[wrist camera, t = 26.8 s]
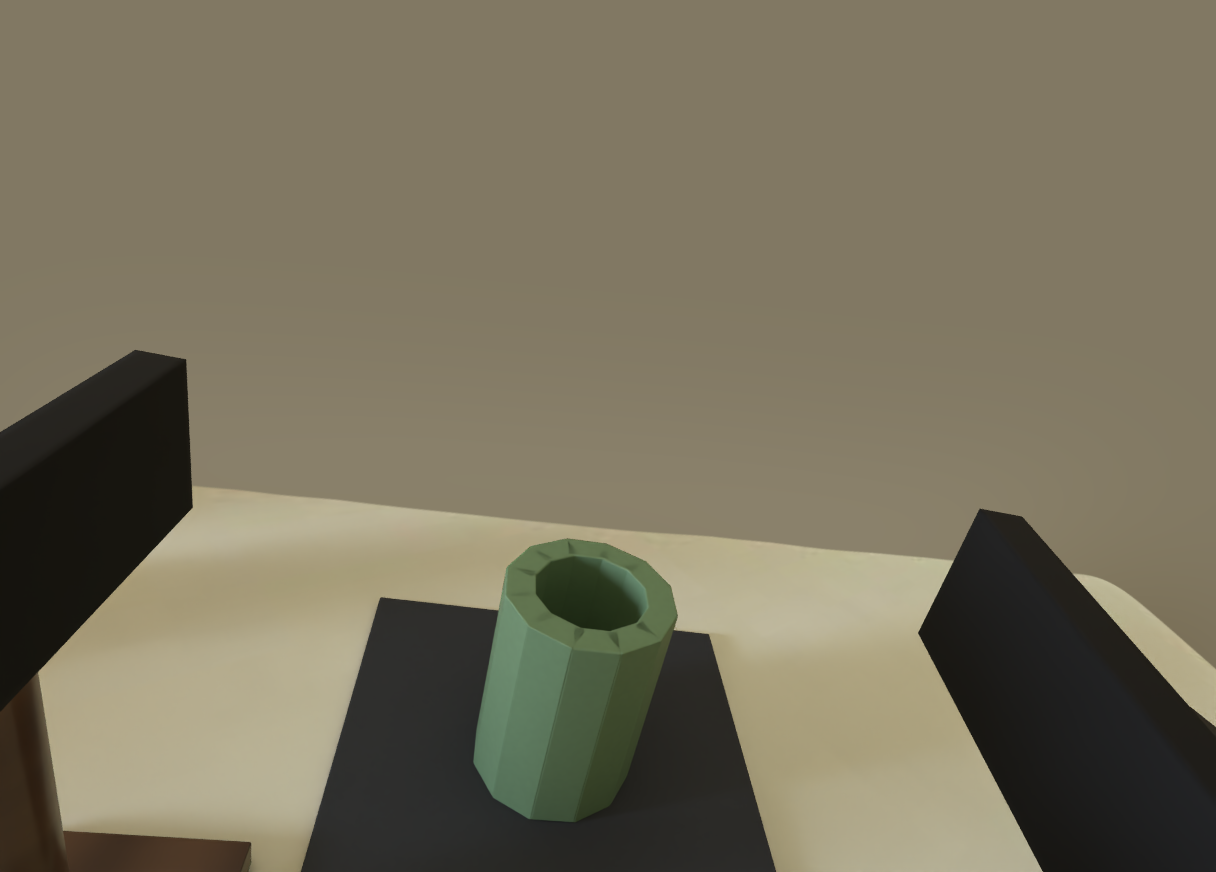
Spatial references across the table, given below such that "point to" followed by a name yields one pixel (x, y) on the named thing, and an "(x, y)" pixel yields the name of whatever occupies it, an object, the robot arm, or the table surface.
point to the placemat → (491, 831)
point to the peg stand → (31, 822)
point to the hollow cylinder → (570, 677)
